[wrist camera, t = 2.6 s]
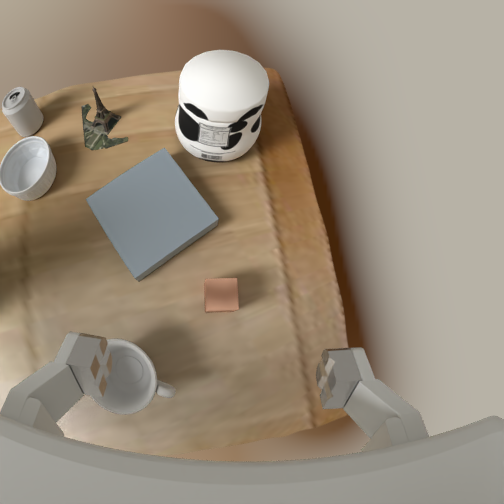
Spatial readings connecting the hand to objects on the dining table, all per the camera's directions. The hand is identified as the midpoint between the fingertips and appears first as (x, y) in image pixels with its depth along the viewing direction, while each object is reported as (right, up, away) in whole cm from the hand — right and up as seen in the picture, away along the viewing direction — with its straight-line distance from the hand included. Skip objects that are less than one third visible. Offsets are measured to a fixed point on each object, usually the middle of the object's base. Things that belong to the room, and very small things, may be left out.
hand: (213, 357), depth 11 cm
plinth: (-18, +11, +47) cm, 51 cm away
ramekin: (-45, +20, +44) cm, 67 cm away
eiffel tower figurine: (-32, +33, +50) cm, 68 cm away
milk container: (-6, +29, +53) cm, 61 cm away
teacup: (-19, -18, +40) cm, 48 cm away
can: (-51, +34, +46) cm, 77 cm away
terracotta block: (-5, -4, +46) cm, 46 cm away
